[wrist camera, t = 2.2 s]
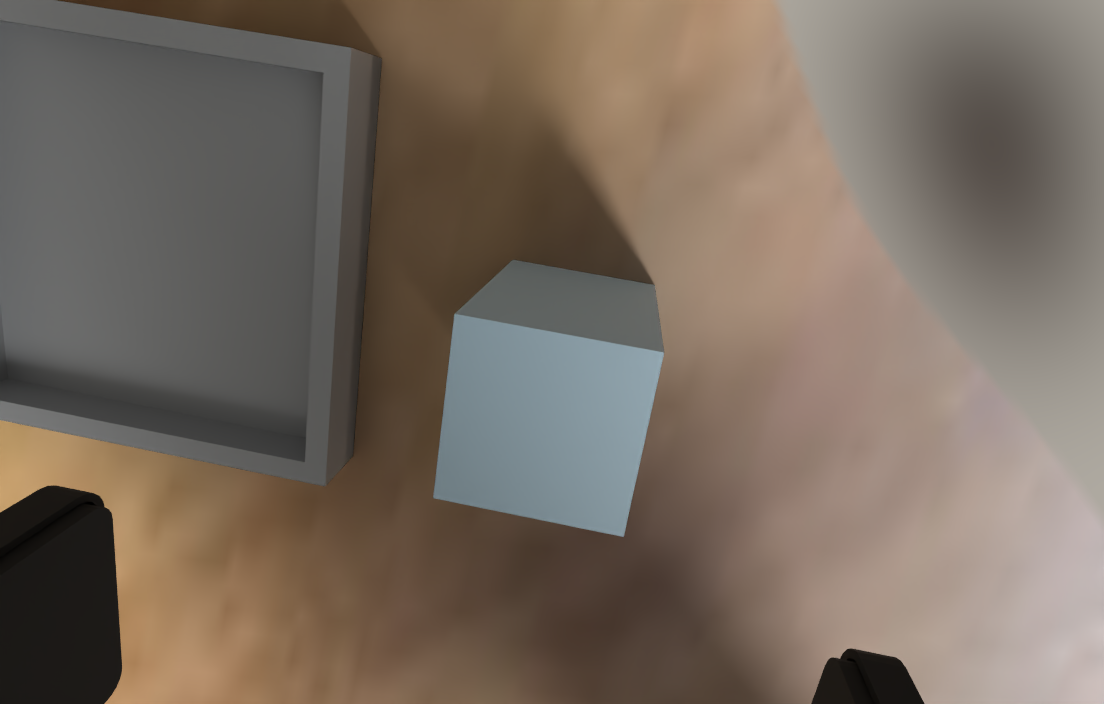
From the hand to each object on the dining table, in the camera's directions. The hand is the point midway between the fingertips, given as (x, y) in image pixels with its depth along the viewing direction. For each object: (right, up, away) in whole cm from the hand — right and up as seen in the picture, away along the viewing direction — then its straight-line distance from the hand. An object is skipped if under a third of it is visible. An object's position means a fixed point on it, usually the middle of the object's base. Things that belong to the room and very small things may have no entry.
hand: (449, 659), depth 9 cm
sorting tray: (-13, +8, +16) cm, 22 cm away
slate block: (+2, +4, +15) cm, 16 cm away
